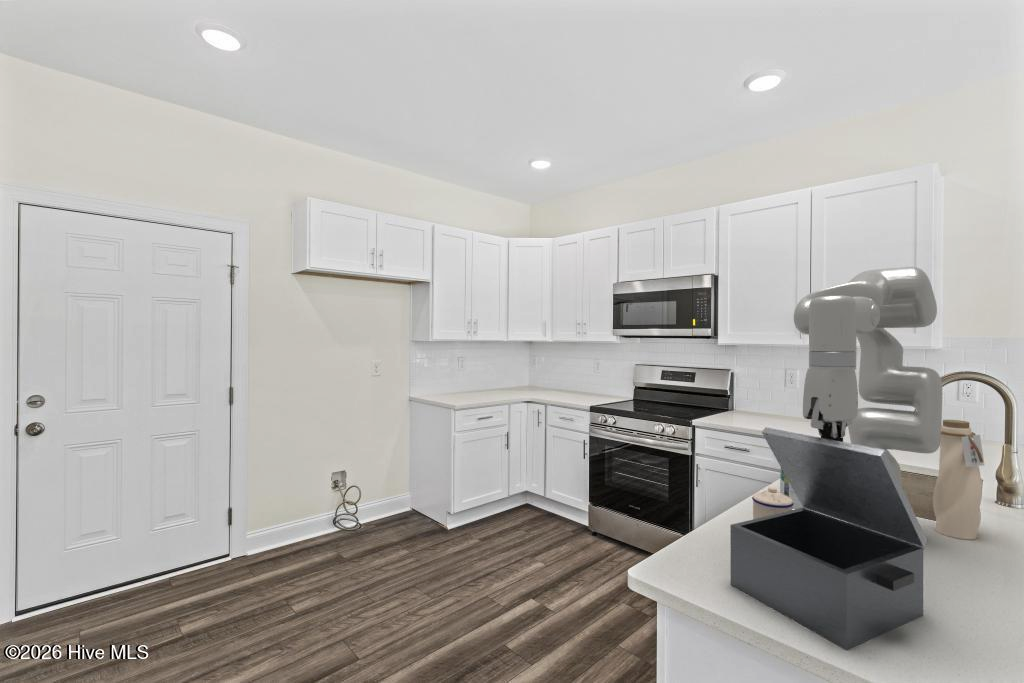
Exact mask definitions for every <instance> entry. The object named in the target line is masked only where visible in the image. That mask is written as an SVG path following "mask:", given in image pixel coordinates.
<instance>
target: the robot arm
mask: <svg viewBox="0 0 1024 683" xmlns="http://www.w3.org/2000/svg"><path fill="white" fill-rule="evenodd" d="M934 293H935V292H934V290H933V286H932V284H931V281H930V279H929V277H928V274H927V273H926V272H925V271H924V270H923V269H921V268H919V267H917V266H904V267H901V266H900V267H892V268H890V267H889V268H881V269H880V268H879V269H870V270H864V271H862V272H860V273H858V274H857V275H854V277H853V278H852V279H851V280H850V281H847V283H842V284H839V285H838V284H837V285H835V286H832V287H827V288H823V289H820V290H815V291H813V292H811V293H808V294H807V295H805V296H804V297H802V298H801V299H800V300H799V302H798V303H797V304H796V306H795V309H794V312H793V323H794V326H795V328H796V329H797V330H798V331H799V332H800V333H801V334H804V335H807V336H808V368H807V369H806V372H805V378H804V385H803V397H802V398H803V399H802V416H803V418H804V419H806V420H811V421H810V427H811V428H814V429H817V431H818V435H819V436H820V438H825V439H830V440H835V441H841V442H844V437H845V436H846V429H848V434H849V438H850V439H849V440H850V443H851V444H856V445H862V446H867V447H872V448H877V449H883V450H885V451H886V454H887V456H888V458H889V460H890V462H891V464H892V466H893V469H894V471H895V473H896V475H897V477H898V479H899V481H900V484H901V485H902V470H901V467H900V463H899V462H898V460H897V459H896V458H895V456H894V455H893V454H891V452H890V451H889V450H891V451H893V450H895V451H903V452H910V453H917V454H934V453H936V452H937V451H938V450H939V449H940V442H941V426H942V425H943V382H942V378H941V376H940V374H939V373H938V372H937V371H936V370H935V369H933V368H930V367H926V366H924V367H923V366H905V365H903V364H904V363H903V361H904V360H903V359H904V358H903V357H904V348H903V345H902V344H901V343H900V341H899V340H898V339H897V338H896V337H895V336H893V335H892V333H890V332H888V331H887V330H886V329H903V328H904V329H905V328H908V329H909V328H911V329H914V328H915V329H919V328H926V327H928V326H930V325H932V324H933V323H934V322H935V320H936V317H937V315H938V305H937V300H936V297H935V294H934ZM857 341H858V343H859V347H860V361H859V370H858V371H859V372H858V381H857V372H856V370H857ZM858 395H859V396H860V397H861V399H862V400H864V401H866V402H868V403H873V404H881V405H895V406H906V407H913V408H915V411H913V410H912V411H911V410H902V409H893V408H882V407H881V408H880V407H859V396H858ZM850 524H852V523H850ZM853 525H855V524H853ZM856 526H858V525H856ZM859 527H861V526H859ZM862 528H864V527H862ZM865 529H867V528H865ZM868 530H870V529H868ZM871 531H873V530H871ZM874 532H876V531H874ZM877 533H879V532H877ZM880 534H882V533H880ZM883 535H885V534H883ZM886 536H888V535H886ZM889 537H891V536H889ZM892 538H894V537H892ZM895 539H897V538H895ZM898 540H900V539H898ZM901 541H903V540H901ZM904 542H906V541H904ZM907 543H909V542H907Z"/></svg>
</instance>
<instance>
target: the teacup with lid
mask: <svg viewBox="0 0 1024 683" xmlns="http://www.w3.org/2000/svg"><path fill="white" fill-rule="evenodd" d="M751 499H752V504H753V505H752V510H753V511H752V512H753V513H752V520H753V519H757V518H761V517H765V516H770V515H774V514H778V513H782V512H786V511H791V510H792V506H793V504H794V503H793V501H792V499H791V498H789V497H788V496H785V495H783V494H781V493H780V491H778V489H777V488H776V487H774V486H769V487H768V488H767V490H763V491H760V492H759V491H758V492H755V493H753V495H752V497H751Z"/></svg>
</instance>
